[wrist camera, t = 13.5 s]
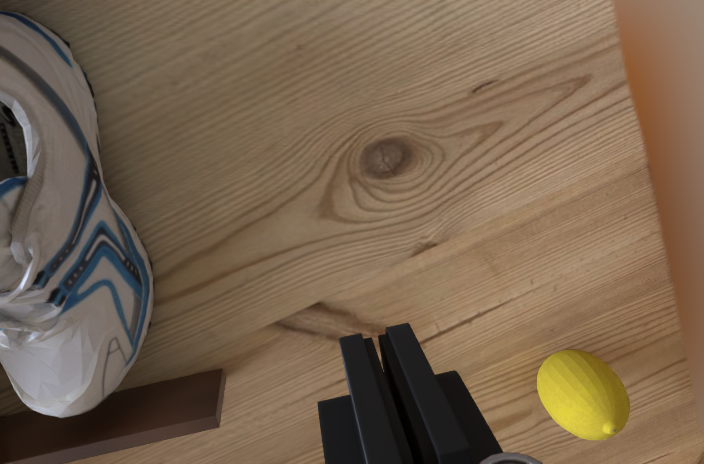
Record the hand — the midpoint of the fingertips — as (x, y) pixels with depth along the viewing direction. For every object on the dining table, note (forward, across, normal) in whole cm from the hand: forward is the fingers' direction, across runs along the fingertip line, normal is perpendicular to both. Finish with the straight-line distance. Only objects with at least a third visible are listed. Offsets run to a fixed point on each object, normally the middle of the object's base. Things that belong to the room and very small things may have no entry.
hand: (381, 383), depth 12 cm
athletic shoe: (+22, +16, 0) cm, 27 cm away
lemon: (+22, -16, +19) cm, 33 cm away
